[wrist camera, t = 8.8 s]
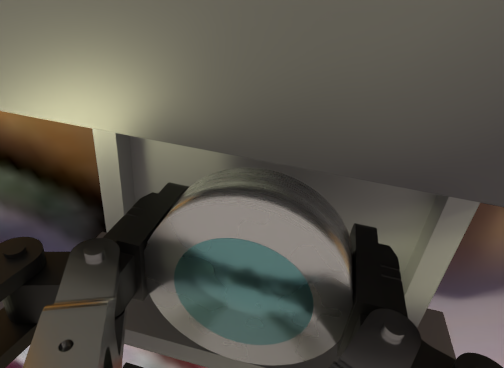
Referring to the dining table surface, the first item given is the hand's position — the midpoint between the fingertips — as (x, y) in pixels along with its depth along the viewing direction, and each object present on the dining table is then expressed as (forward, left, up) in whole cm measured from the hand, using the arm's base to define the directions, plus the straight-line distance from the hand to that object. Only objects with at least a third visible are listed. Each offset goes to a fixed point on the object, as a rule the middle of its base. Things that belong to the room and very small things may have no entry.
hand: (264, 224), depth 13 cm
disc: (0, 0, +1) cm, 1 cm away
